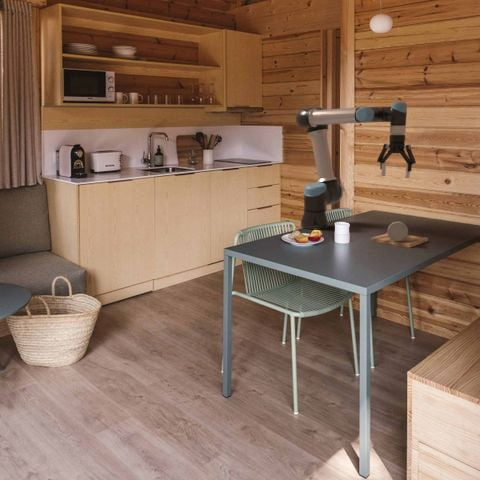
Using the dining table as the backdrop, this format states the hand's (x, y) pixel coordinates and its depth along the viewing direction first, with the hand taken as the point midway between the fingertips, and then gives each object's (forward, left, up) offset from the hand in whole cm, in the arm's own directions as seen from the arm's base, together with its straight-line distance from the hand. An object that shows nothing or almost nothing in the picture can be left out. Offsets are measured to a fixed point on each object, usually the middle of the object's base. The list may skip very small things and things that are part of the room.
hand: (395, 177), depth 280 cm
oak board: (+13, -16, -29) cm, 35 cm away
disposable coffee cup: (+12, -13, -24) cm, 29 cm away
